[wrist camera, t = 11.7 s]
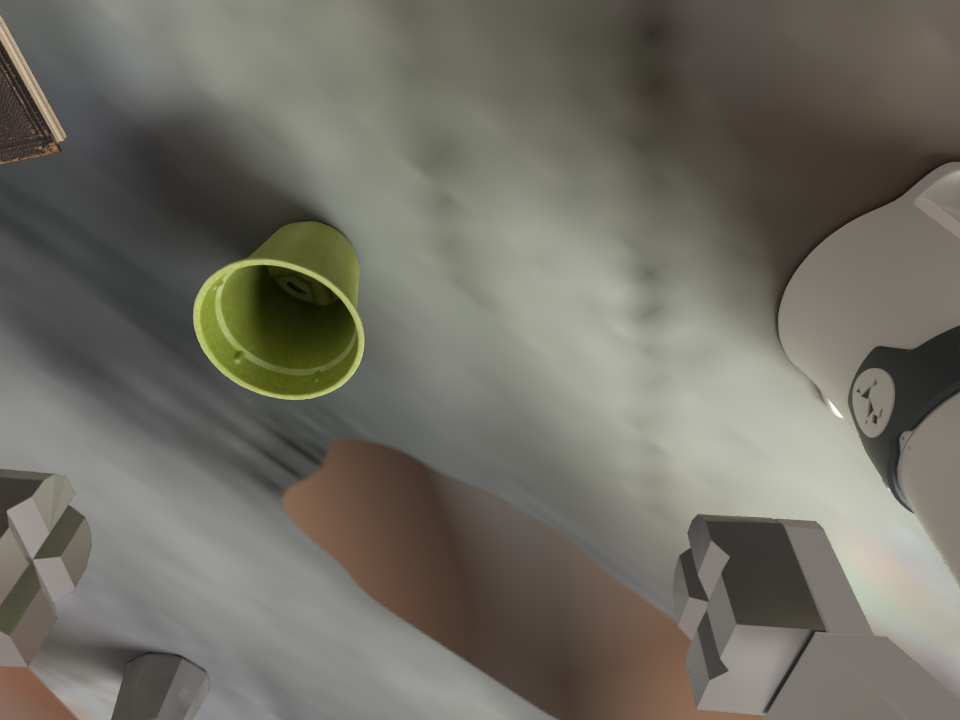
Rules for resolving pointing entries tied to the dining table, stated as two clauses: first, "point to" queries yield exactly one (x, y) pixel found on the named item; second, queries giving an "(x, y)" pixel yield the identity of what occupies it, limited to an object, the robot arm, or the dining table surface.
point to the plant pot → (285, 314)
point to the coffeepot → (161, 689)
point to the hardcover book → (23, 108)
